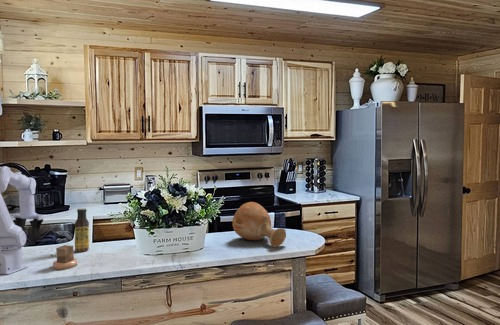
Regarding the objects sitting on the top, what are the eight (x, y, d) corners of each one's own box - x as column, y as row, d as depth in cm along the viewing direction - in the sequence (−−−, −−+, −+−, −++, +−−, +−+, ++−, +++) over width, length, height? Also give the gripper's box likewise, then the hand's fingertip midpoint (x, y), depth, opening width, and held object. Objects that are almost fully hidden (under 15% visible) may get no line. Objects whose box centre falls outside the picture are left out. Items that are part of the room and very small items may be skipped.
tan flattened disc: (66, 270, 158) (65, 265, 158) (48, 268, 161) (47, 263, 160) (81, 263, 167) (81, 258, 166) (64, 261, 169) (64, 257, 169)
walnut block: (65, 263, 161) (64, 248, 160) (57, 262, 162) (56, 248, 162) (73, 260, 165) (73, 245, 165) (65, 259, 167) (64, 245, 166)
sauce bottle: (74, 253, 182) (72, 210, 181) (74, 249, 188) (73, 208, 187) (90, 251, 185) (88, 209, 183) (89, 248, 190) (88, 207, 189)
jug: (260, 210, 217) (301, 225, 194) (242, 240, 212) (282, 259, 189) (238, 192, 204) (279, 205, 182) (219, 223, 200) (258, 241, 177)
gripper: (47, 203, 175) (49, 233, 176) (22, 202, 180) (23, 231, 181) (34, 206, 169) (36, 237, 170) (8, 205, 173) (10, 235, 174)
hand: (29, 235), depth 175 cm, fingers open, 7 cm apart
